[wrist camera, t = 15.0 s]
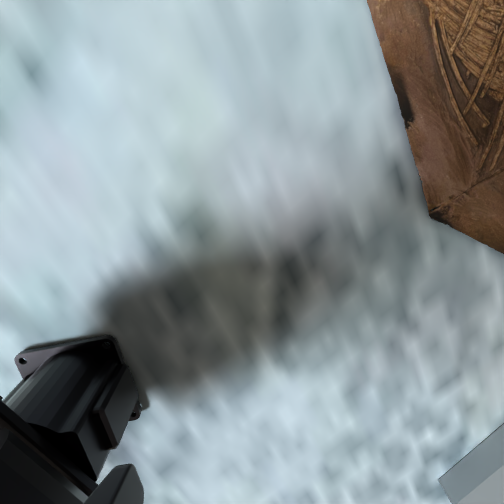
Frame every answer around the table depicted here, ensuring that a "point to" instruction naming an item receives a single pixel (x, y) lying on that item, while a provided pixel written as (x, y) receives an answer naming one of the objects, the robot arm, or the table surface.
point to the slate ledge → (478, 474)
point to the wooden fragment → (451, 104)
